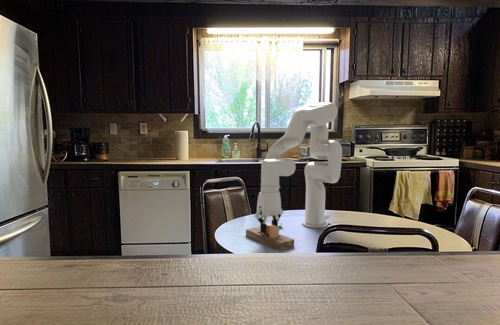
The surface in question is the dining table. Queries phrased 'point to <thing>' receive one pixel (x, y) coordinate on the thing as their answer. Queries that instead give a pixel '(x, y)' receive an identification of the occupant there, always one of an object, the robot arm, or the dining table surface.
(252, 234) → the rail
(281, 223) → the pacifier
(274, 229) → the clip
